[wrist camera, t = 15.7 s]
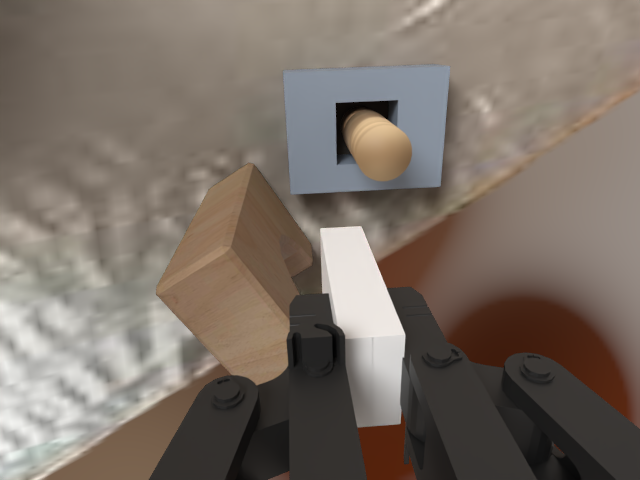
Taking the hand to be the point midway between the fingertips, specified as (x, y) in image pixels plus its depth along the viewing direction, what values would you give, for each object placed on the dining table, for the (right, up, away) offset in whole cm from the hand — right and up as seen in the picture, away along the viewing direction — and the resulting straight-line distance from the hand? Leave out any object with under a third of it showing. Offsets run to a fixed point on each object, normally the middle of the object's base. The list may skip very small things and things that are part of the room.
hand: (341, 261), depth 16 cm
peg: (+3, +12, +26) cm, 29 cm away
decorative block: (-7, +3, +29) cm, 30 cm away
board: (+3, +12, +26) cm, 29 cm away
